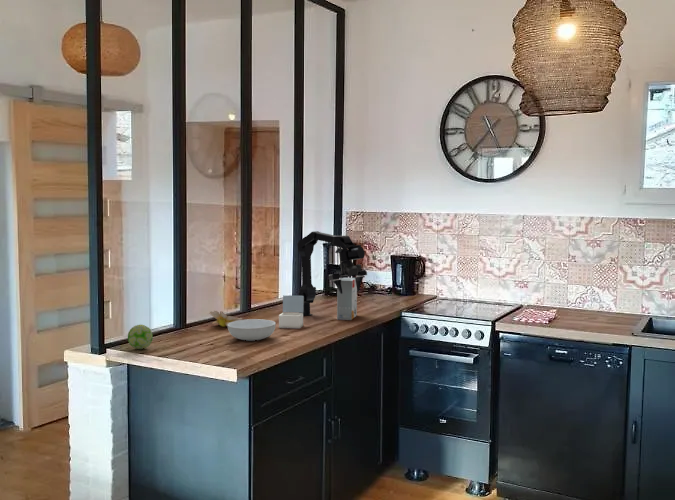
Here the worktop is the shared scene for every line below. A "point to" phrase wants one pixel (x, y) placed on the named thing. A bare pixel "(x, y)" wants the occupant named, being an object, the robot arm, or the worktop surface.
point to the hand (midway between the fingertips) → (350, 292)
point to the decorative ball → (140, 336)
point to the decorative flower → (223, 318)
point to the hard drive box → (347, 299)
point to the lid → (293, 303)
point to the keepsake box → (291, 320)
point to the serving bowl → (251, 329)
